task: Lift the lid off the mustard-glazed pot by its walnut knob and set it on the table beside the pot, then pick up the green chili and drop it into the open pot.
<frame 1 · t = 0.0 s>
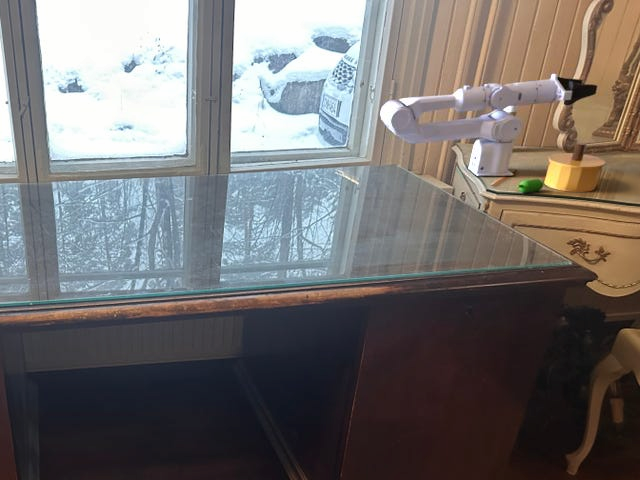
hand: (588, 86, 173), 22 cm above the table, tool horizontal, fingers open, 7 cm apart
pot lid: (576, 161, 171), point 6 cm above the table, touching pot
pot: (569, 184, 174), on the table
sprinkles bottle: (499, 151, 204), on the table
chili: (529, 191, 171), on the table
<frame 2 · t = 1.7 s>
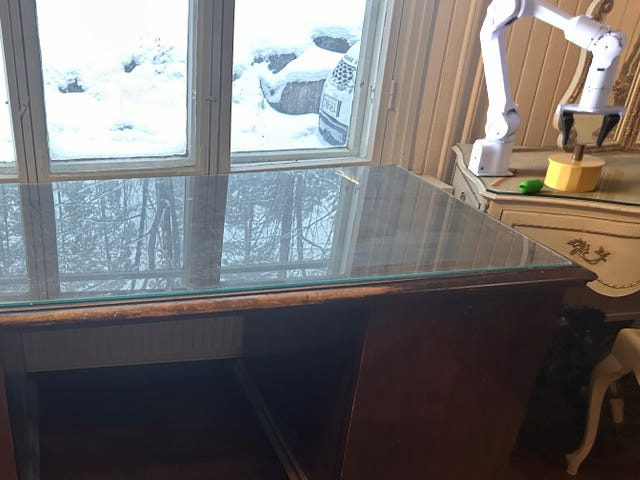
hand: (581, 144, 169), 10 cm above the table, tool pointing down, fingers open, 7 cm apart
chili: (529, 191, 171), on the table, tilted 8°
everything else where it was.
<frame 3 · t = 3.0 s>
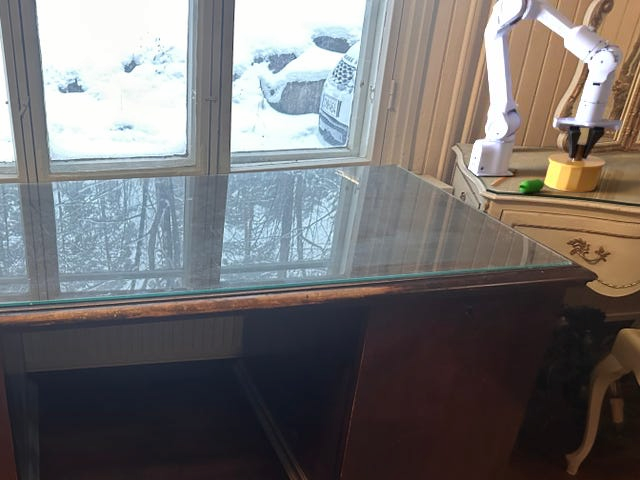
hand: (577, 157, 171), 7 cm above the table, tool pointing down, fingers closed on pot lid, 2 cm apart
pot lid: (576, 161, 171), point 6 cm above the table, touching gripper, pot
everything else where it was.
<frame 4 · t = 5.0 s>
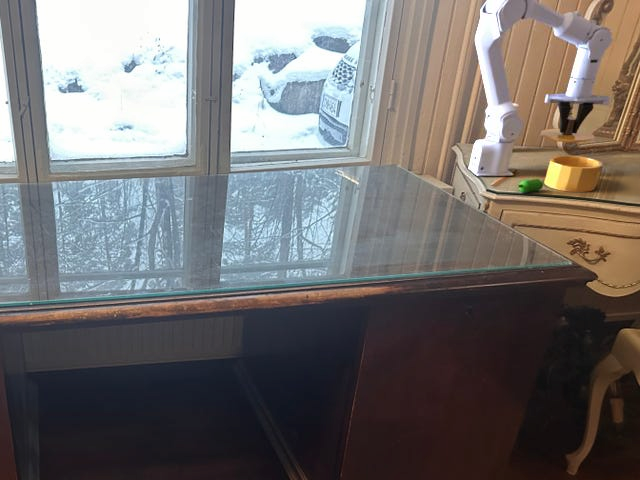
hand: (567, 132, 180), 10 cm above the table, tool pointing down, fingers closed on pot lid, 2 cm apart
pot lid: (566, 136, 180), point 9 cm above the table, touching gripper
chili: (529, 191, 171), on the table
everything else where it was.
when the fingers open (2 cm above the table, at t = 7.3 s): pot lid stays where it is, point 1 cm above the table.
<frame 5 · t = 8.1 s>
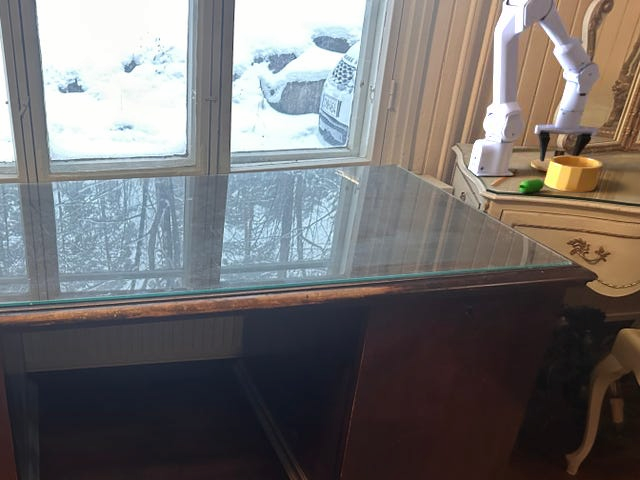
hand: (557, 161, 186), 2 cm above the table, tool pointing down, fingers open, 7 cm apart
pot lid: (555, 166, 187), point 1 cm above the table
chili: (529, 191, 171), on the table, tilted 8°
everything else where it was.
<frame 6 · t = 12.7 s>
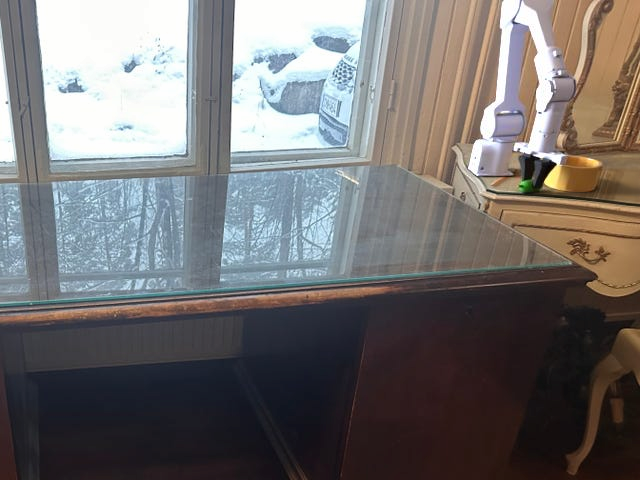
hand: (531, 186, 170), 1 cm above the table, tool pointing down, fingers closed on chili, 3 cm apart
chili: (529, 191, 171), on the table, touching gripper
everything else where it was.
when the fingers open (3 cm above the table, at t = 17.6 s): chili stays where it is, resting on pot.
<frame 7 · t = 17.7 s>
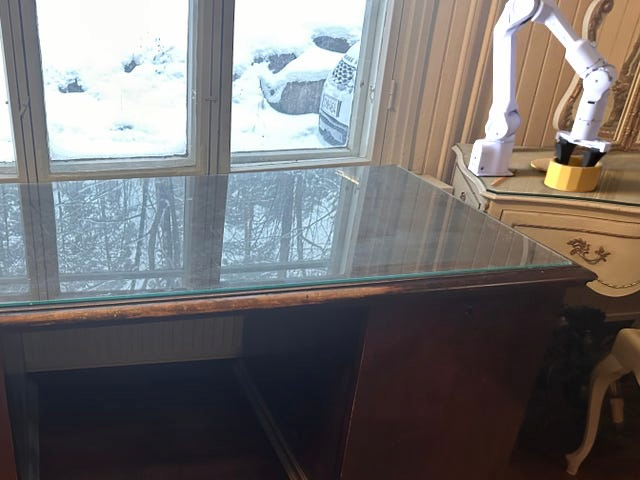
hand: (572, 173, 173), 3 cm above the table, tool pointing down, fingers open, 6 cm apart
chili: (569, 182, 174), point 1 cm above the table, tilted 12°, touching pot
everything else where it was.
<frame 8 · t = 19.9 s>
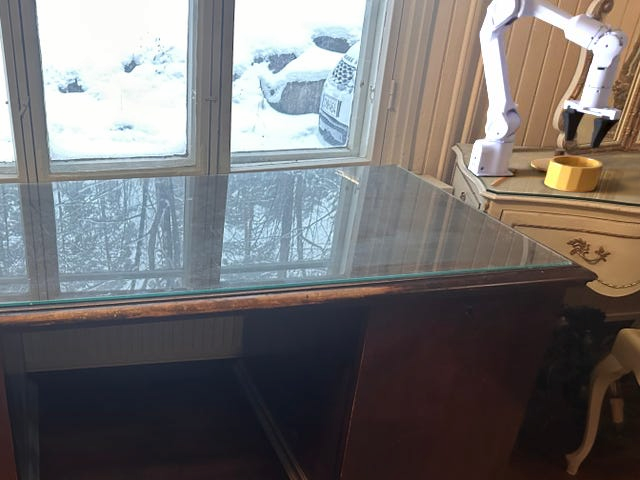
hand: (581, 143, 169), 10 cm above the table, tool pointing down, fingers open, 7 cm apart
chili: (569, 183, 174), point 1 cm above the table, tilted 6°, touching pot
everything else where it was.
at the end: pot lid inside the target area (0.0 cm from its centre), point 0.6 cm above the table; pot lid tilted 0°; chili inside the target area in the pot (0.0 cm from its centre), point 0.5 cm above the pot's base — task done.
